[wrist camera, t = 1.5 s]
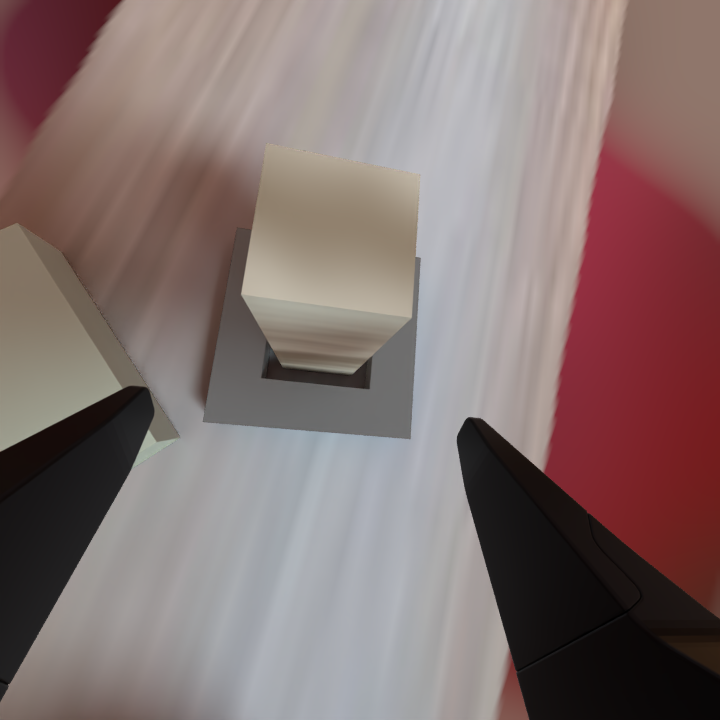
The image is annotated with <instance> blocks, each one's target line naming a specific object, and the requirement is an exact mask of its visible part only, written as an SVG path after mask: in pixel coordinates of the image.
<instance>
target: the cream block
mask: <svg viewBox="0 0 720 720" xmlns="http://www.w3.org/2000/svg"><path fill="white" fill-rule="evenodd" d="M419 188H420V174H415V173H410V172H405V171H400V170H395V169H390V168H385V167H381V166H376V165H371V164H366V163H361V162H356V161H351V160H346V159H341V158H336V157H332V156H327V155H322V154H317V153H312V152H307V151H302V150H297V149H292V148H287V147H282V146H278V145H273V144H268V143H266V148H265V154H264V160H263V166H262V172H261V178H260V184H259V190H258V196H257V202H256V208H255V214H254V220H253V226H252V232H251V238H250V244H249V250H248V256H247V262H246V268H245V274H244V280H243V286H242V292H241V295H242V297H243V299H244V300H245V302H246V304H247V306H248V307H249V309H250V311H251V313H252V314H253V316H254V318H255V320H256V321H257V323H258V325H259V327H260V328H261V330H262V332H263V334H264V335H265V337H266V339H267V341H268V342H269V344H270V346H271V348H272V349H273V351H274V353H275V355H276V356H277V358H278V360H279V362H280V363H281V365H282V367H283V368H285V369H294V370H304V371H313V372H322V373H331V374H341V375H350V376H351V375H352V374H353V373H354V372H355V371H356V370H357V369H358V368H360V367H361V366H362V365H363V364H364V363H365V362H366V361H367V360H368V359H369V358H370V357H371V356H372V355H373V354H374V353H375V352H376V351H377V350H378V349H380V348H381V347H382V346H383V345H384V344H385V343H386V342H387V341H388V340H389V339H390V338H391V337H392V336H393V335H394V334H395V333H396V332H397V331H398V330H400V329H401V328H402V327H403V326H404V325H405V324H406V323H407V322H408V321H409V320H410V319H411V318H412V306H413V289H414V273H415V256H416V239H417V222H418V205H419Z"/></svg>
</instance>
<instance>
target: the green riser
mask: <svg viewBox="0 0 720 720" xmlns="http://www.w3.org/2000/svg"><path fill="white" fill-rule="evenodd" d="M131 385H134V386H144V387H147V385H146V384H145V382H144V380H143V379H142V377H141V376H140V374H139V373H138V371H137V370H136V368H135V366H134V365H133V363H132V362H131V360H130V359H129V357H128V355H127V354H126V352H125V351H124V349H123V348H122V346H121V345H120V343H119V341H118V340H117V338H116V337H115V335H114V334H113V332H112V330H111V329H110V327H109V326H108V324H107V323H106V321H105V320H104V318H103V316H102V315H101V313H100V312H99V310H98V309H97V307H96V305H95V304H94V302H93V301H92V299H91V298H90V296H89V295H88V293H87V291H86V290H85V288H84V287H83V285H82V284H81V282H80V281H79V279H78V277H77V276H76V274H75V273H74V271H73V270H72V268H71V266H70V265H69V263H68V262H67V260H66V259H65V257H64V256H63V254H62V252H61V251H60V250H58V249H57V248H55V247H54V246H52V245H50V244H49V243H47V242H46V241H44V240H43V239H41V238H40V237H38V236H37V235H35V234H34V233H32V232H31V231H29V230H28V229H26V228H25V227H23V226H22V225H20V224H18V223H15V224H13V225H11V226H8V227H6V228H4V229H1V230H0V451H2V450H4V449H6V448H8V447H10V446H12V445H14V444H16V443H18V442H20V441H22V440H24V439H26V438H28V437H30V436H32V435H34V434H35V433H37V432H39V431H41V430H43V429H45V428H47V427H49V426H51V425H53V424H55V423H57V422H59V421H61V420H63V419H65V418H67V417H69V416H71V415H73V414H74V413H76V412H78V411H80V410H82V409H84V408H86V407H88V406H90V405H92V404H94V403H96V402H98V401H100V400H102V399H104V398H106V397H108V396H110V395H111V394H113V393H115V392H117V391H119V390H121V389H123V388H125V387H127V386H131ZM147 388H148V387H147ZM148 389H149V388H148ZM149 391H150V390H149ZM150 394H151V398H152V401H153V405H154V409H155V413H154V417H153V420H152V422H151V425H150V427H149V429H148V432H147V434H146V436H145V439H144V441H143V444H142V446H141V448H140V451H139V453H138V455H137V458H136V460H135V462H134V464H133V467H132V468H134V467H135V466H137V465H139V464H140V463H142V462H143V461H145V460H146V459H148V458H150V457H151V456H153V455H154V454H156V453H157V452H159V451H160V450H162V449H164V448H165V447H167V446H168V445H170V444H171V443H173V442H175V441H176V440H178V439H179V438H180V437H179V435H178V434H177V432H176V430H175V429H174V427H173V426H172V424H171V423H170V421H169V419H168V418H167V416H166V415H165V413H164V412H163V410H162V409H161V407H160V405H159V404H158V402H157V401H156V399H155V398H154V396H153V394H152V393H151V391H150Z"/></svg>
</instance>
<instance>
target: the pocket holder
mask: <svg viewBox="0 0 720 720" xmlns="http://www.w3.org/2000/svg"><path fill="white" fill-rule="evenodd" d="M251 232H252V230H249V229H243V228H237V231H236V237H235V242H234V248H233V254H232V259H231V265H230V271H229V276H228V282H227V288H226V293H225V299H224V305H223V310H222V316H221V322H220V327H219V333H218V338H217V344H216V350H215V355H214V361H213V367H212V372H211V378H210V384H209V389H208V395H207V401H206V406H205V412H204V417H203V422H208V423H221V424H233V425H245V426H257V427H269V428H282V429H294V430H306V431H318V432H331V433H343V434H355V435H367V436H379V437H392V438H404V439H410V438H411V420H412V402H413V384H414V366H415V348H416V330H417V312H418V294H419V276H420V259H421V258H418V257H415V273H414V289H413V306H412V318H411V319H410V320H409V321H408V322H407V323H406V324H405V325H404V326H403V327H402V328H401V329H400V330H398V331H397V332H396V333H395V334H394V335H393V336H392V337H391V338H390V339H389V340H388V341H387V342H386V343H385V344H384V345H383V346H382V347H381V348H380V349H378V350H377V351H376V352H375V353H374V354H373V355H372V356H371V357H370V358H369V359H368V360H367V366H366V377H365V389H360V388H351V387H341V386H331V385H321V384H312V383H302V382H292V381H282V380H273V379H266V375H267V368H268V361H269V354H270V347H271V346H270V344H269V342H268V341H267V339H266V337H265V335H264V334H263V332H262V330H261V328H260V327H259V325H258V323H257V321H256V320H255V318H254V316H253V314H252V313H251V311H250V309H249V307H248V306H247V304H246V302H245V300H244V299H243V297H242V295H241V292H242V286H243V280H244V274H245V268H246V262H247V256H248V250H249V244H250V238H251Z"/></svg>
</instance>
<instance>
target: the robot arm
mask: <svg viewBox="0 0 720 720" xmlns="http://www.w3.org/2000/svg"><path fill="white" fill-rule="evenodd" d="M154 413H155V409H154V405H153V401H152V398H151V394H150V391H149V389H148V388H147V387H144V386H134V385H131V386H127V387H125V388H123V389H121V390H119V391H117V392H115V393H113V394H111V395H110V396H108V397H106V398H104V399H102V400H100V401H98V402H96V403H94V404H92V405H90V406H88V407H86V408H84V409H82V410H80V411H78V412H76V413H74V414H73V415H71V416H69V417H67V418H65V419H63V420H61V421H59V422H57V423H55V424H53V425H51V426H49V427H47V428H45V429H43V430H41V431H39V432H37V433H35V434H34V435H32V436H30V437H28V438H26V439H24V440H22V441H20V442H18V443H16V444H14V445H12V446H10V447H8V448H6V449H4V450H2V451H0V701H1V700H2V698H3V696H4V694H5V692H6V691H7V689H8V687H9V686H8V684H10V683H11V681H12V680H13V678H14V676H15V674H16V672H17V671H18V669H19V667H20V665H21V664H22V662H23V660H24V658H25V657H26V655H27V653H28V651H29V649H30V648H31V646H32V644H33V642H34V641H35V639H36V637H37V635H38V634H39V632H40V630H41V628H42V627H43V625H44V623H45V621H46V619H47V618H48V616H49V614H50V612H51V611H52V609H53V607H54V605H55V604H56V602H57V600H58V598H59V597H60V595H61V593H62V591H63V589H64V588H65V586H66V584H67V582H68V581H69V579H70V577H71V575H72V574H73V572H74V570H75V568H76V567H77V565H78V563H79V561H80V559H81V558H82V556H83V554H84V552H85V551H86V549H87V547H88V545H89V544H90V542H91V540H92V538H93V536H94V535H95V533H96V531H97V529H98V528H99V526H100V524H101V522H102V521H103V519H104V517H105V515H106V514H107V512H108V510H109V508H110V506H111V505H112V503H113V501H114V499H115V498H116V496H117V494H118V492H119V491H120V489H121V487H122V485H123V484H124V482H125V480H126V478H127V476H128V474H129V473H130V471H131V469H132V467H133V464H134V462H135V460H136V458H137V455H138V453H139V451H140V448H141V446H142V444H143V441H144V439H145V436H146V434H147V432H148V429H149V427H150V425H151V422H152V420H153V417H154ZM457 446H458V452H459V458H460V464H461V470H462V476H463V482H464V487H465V491H466V495H467V499H468V503H469V506H470V510H471V513H472V517H473V520H474V524H475V527H476V531H477V535H478V538H479V542H480V545H481V549H482V552H483V556H484V559H485V563H486V567H487V570H488V574H489V577H490V581H491V584H492V588H493V591H494V595H495V599H496V602H497V606H498V609H499V613H500V616H501V620H502V623H503V627H504V631H505V634H506V638H507V641H508V645H509V648H510V652H511V655H512V659H513V663H514V666H515V670H516V671H517V673H516V674H517V678H518V681H519V685H520V688H521V692H522V695H523V699H524V702H525V706H526V710H527V713H528V717H529V720H720V619H719V618H718V617H716V616H715V615H714V614H712V613H711V612H710V611H709V610H707V609H706V608H705V607H703V606H702V605H701V604H700V603H698V602H697V601H696V600H695V599H693V598H692V597H691V596H690V595H688V594H687V593H686V592H685V591H683V590H682V589H681V588H679V587H678V586H677V585H676V584H674V583H673V582H672V581H671V580H669V579H668V578H667V577H666V576H664V575H663V574H662V573H660V572H659V571H658V570H657V569H655V568H654V567H653V566H652V565H650V564H649V563H648V562H647V561H645V560H644V559H643V558H642V557H640V556H639V555H638V554H637V553H636V552H634V551H633V550H632V549H631V548H629V547H628V546H627V545H626V544H624V543H623V542H622V541H621V540H620V539H618V538H617V537H616V536H615V535H614V534H612V532H610V531H609V530H608V529H607V528H605V527H604V526H603V525H602V524H601V523H600V522H599V521H598V520H597V519H595V518H594V517H593V516H592V515H591V514H589V513H587V511H586V510H585V509H584V508H583V507H582V506H580V505H579V504H578V503H577V502H576V501H575V500H574V499H573V498H571V497H570V496H569V495H568V494H567V493H566V492H564V491H563V490H562V489H561V488H560V487H559V486H558V485H557V484H555V483H554V482H553V481H552V480H551V479H550V478H548V477H547V476H546V475H545V474H544V473H543V472H542V471H541V470H539V469H538V468H537V467H536V466H535V465H534V464H533V463H532V462H530V461H529V460H528V459H527V458H526V457H525V456H524V455H522V454H521V453H520V452H519V451H518V450H517V449H516V448H514V447H513V446H512V445H511V444H510V443H509V442H508V441H506V440H505V439H504V438H503V437H502V436H501V435H500V434H498V433H497V432H496V431H495V430H494V429H493V428H492V427H491V426H489V425H488V424H487V423H486V422H485V421H484V420H482V419H481V418H473V417H468V418H467V419H466V420H465V422H464V424H463V426H462V427H461V429H460V431H459V433H458V436H457Z"/></svg>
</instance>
